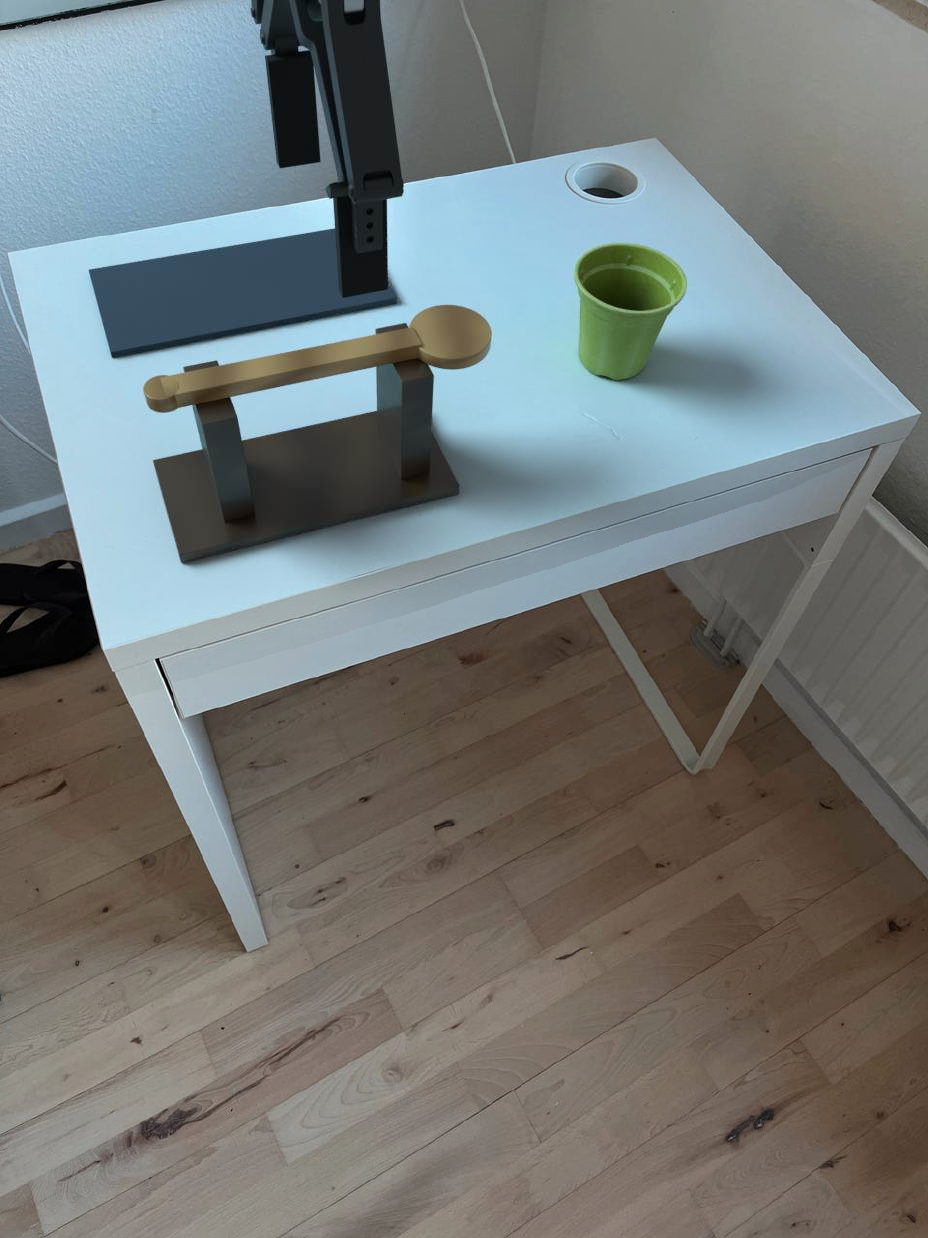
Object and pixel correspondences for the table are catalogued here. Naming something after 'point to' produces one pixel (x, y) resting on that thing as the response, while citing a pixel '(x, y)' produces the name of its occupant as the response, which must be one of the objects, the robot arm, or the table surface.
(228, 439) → the rack
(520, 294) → the table surface
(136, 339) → the mat
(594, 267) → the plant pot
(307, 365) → the ladle
